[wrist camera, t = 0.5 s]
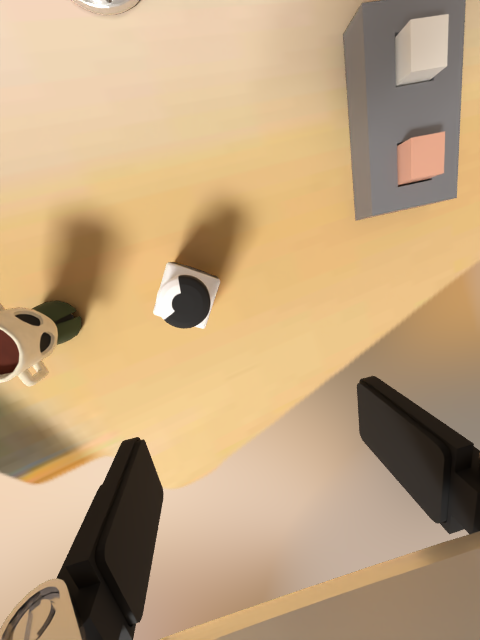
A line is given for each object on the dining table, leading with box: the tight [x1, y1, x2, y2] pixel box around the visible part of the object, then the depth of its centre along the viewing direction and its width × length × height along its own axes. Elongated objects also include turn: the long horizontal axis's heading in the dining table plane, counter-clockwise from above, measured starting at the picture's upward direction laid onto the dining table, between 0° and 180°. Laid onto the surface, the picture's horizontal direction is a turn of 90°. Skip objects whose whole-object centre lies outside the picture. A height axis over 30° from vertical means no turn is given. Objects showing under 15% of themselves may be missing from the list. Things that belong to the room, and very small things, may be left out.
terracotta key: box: [397, 131, 445, 186], centre depth 33 cm, size 5×5×3 cm
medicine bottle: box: [153, 262, 220, 329], centre depth 31 cm, size 7×7×12 cm
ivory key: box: [395, 14, 449, 87], centre depth 30 cm, size 5×5×3 cm
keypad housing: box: [343, 0, 465, 220], centre depth 34 cm, size 24×14×4 cm, turn 12°
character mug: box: [0, 301, 82, 386], centre depth 29 cm, size 11×7×13 cm, turn 21°
